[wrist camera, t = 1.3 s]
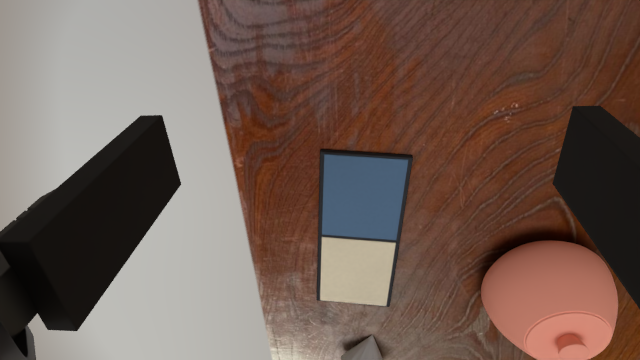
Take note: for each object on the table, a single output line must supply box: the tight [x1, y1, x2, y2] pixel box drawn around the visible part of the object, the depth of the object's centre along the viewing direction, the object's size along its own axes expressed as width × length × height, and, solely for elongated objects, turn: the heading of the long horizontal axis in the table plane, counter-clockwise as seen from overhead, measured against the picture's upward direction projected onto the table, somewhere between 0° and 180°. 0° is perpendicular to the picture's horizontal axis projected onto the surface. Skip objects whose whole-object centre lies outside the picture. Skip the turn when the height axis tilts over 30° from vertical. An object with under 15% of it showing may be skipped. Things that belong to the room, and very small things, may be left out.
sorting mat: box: [317, 149, 413, 307], centre depth 45 cm, size 20×9×1 cm, turn 179°
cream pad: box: [320, 237, 396, 306], centre depth 47 cm, size 10×8×1 cm
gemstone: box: [341, 335, 383, 360], centre depth 53 cm, size 6×6×5 cm
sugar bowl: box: [481, 240, 618, 360], centre depth 41 cm, size 12×14×10 cm
